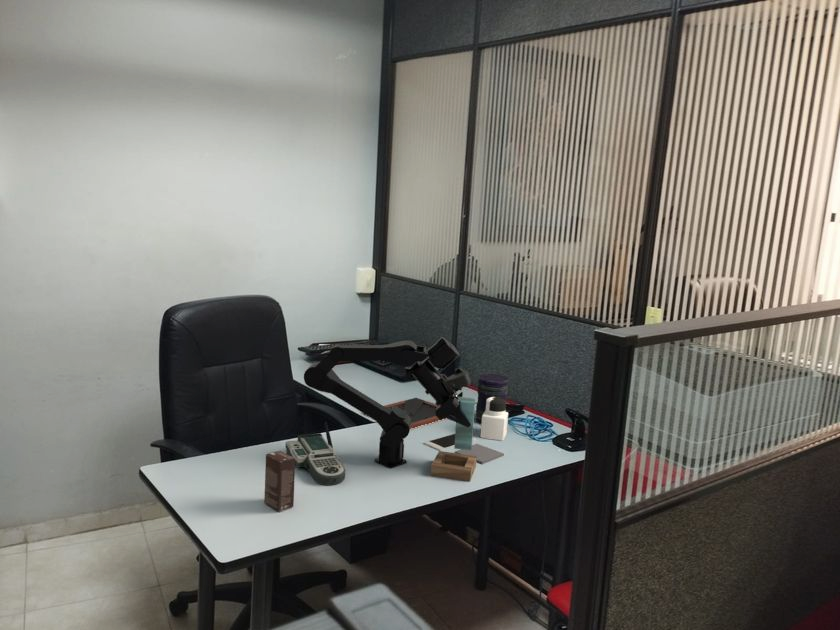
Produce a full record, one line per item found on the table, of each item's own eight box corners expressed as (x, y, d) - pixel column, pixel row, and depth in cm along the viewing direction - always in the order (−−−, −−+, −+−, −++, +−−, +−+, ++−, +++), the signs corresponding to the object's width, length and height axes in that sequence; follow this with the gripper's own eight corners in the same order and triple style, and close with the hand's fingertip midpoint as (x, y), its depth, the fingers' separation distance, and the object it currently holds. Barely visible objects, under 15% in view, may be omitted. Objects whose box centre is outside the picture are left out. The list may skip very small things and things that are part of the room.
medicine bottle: (506, 433, 214) (509, 397, 212) (503, 441, 207) (506, 403, 205) (484, 430, 215) (487, 394, 213) (480, 437, 209) (483, 400, 207)
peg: (471, 450, 180) (474, 403, 178) (454, 448, 181) (457, 401, 178) (472, 444, 185) (475, 398, 182) (455, 442, 185) (458, 396, 183)
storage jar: (510, 421, 225) (514, 378, 223) (495, 428, 218) (499, 383, 215) (484, 414, 231) (488, 372, 229) (469, 421, 223) (472, 377, 221)
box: (294, 507, 156) (296, 457, 154) (278, 512, 153) (279, 462, 151) (279, 498, 160) (280, 449, 158) (263, 503, 157) (264, 454, 155)
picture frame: (415, 402, 243) (363, 415, 225) (415, 396, 242) (363, 410, 224) (458, 416, 229) (406, 432, 211) (458, 411, 229) (406, 426, 211)
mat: (482, 464, 188) (482, 462, 188) (454, 453, 195) (455, 451, 194) (503, 455, 195) (504, 453, 195) (476, 445, 202) (476, 443, 202)
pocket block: (470, 481, 176) (470, 470, 175) (430, 475, 178) (431, 464, 178) (475, 466, 186) (476, 456, 185) (438, 461, 188) (439, 450, 188)
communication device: (308, 491, 166) (309, 457, 164) (283, 455, 187) (283, 424, 185) (354, 484, 171) (355, 451, 169) (324, 450, 192) (326, 420, 190)
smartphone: (423, 444, 201) (423, 441, 201) (459, 434, 211) (459, 431, 211) (440, 452, 196) (440, 449, 196) (476, 441, 206) (476, 438, 206)
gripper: (451, 369, 170) (492, 415, 171) (456, 353, 188) (493, 394, 189) (418, 397, 172) (459, 442, 173) (426, 378, 190) (463, 419, 191)
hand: (470, 423), depth 181 cm, fingers closed on peg, 4 cm apart
